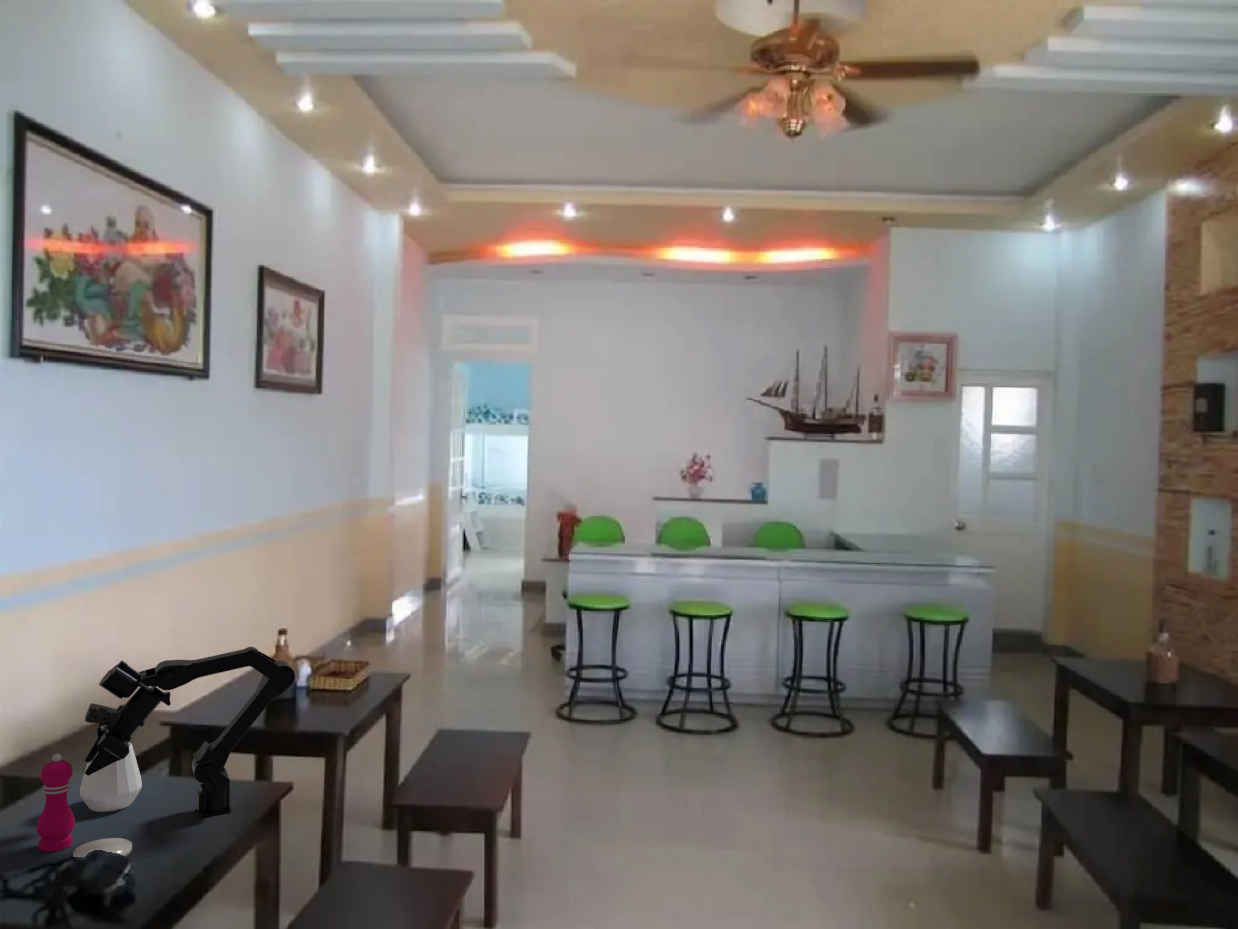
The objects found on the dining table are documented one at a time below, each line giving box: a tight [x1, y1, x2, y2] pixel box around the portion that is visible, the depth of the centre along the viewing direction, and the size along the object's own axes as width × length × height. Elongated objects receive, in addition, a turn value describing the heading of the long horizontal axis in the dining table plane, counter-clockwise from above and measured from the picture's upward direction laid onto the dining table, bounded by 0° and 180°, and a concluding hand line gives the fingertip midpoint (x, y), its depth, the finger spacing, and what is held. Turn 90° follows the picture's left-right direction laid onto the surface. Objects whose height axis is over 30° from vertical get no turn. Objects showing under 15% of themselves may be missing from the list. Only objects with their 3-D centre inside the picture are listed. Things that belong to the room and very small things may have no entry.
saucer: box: [72, 837, 133, 858], centre depth 206 cm, size 11×11×1 cm
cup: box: [79, 741, 143, 813], centre depth 233 cm, size 13×13×14 cm
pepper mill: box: [35, 753, 76, 853], centre depth 209 cm, size 7×7×20 cm
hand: (86, 768), depth 218 cm, fingers open, 9 cm apart
